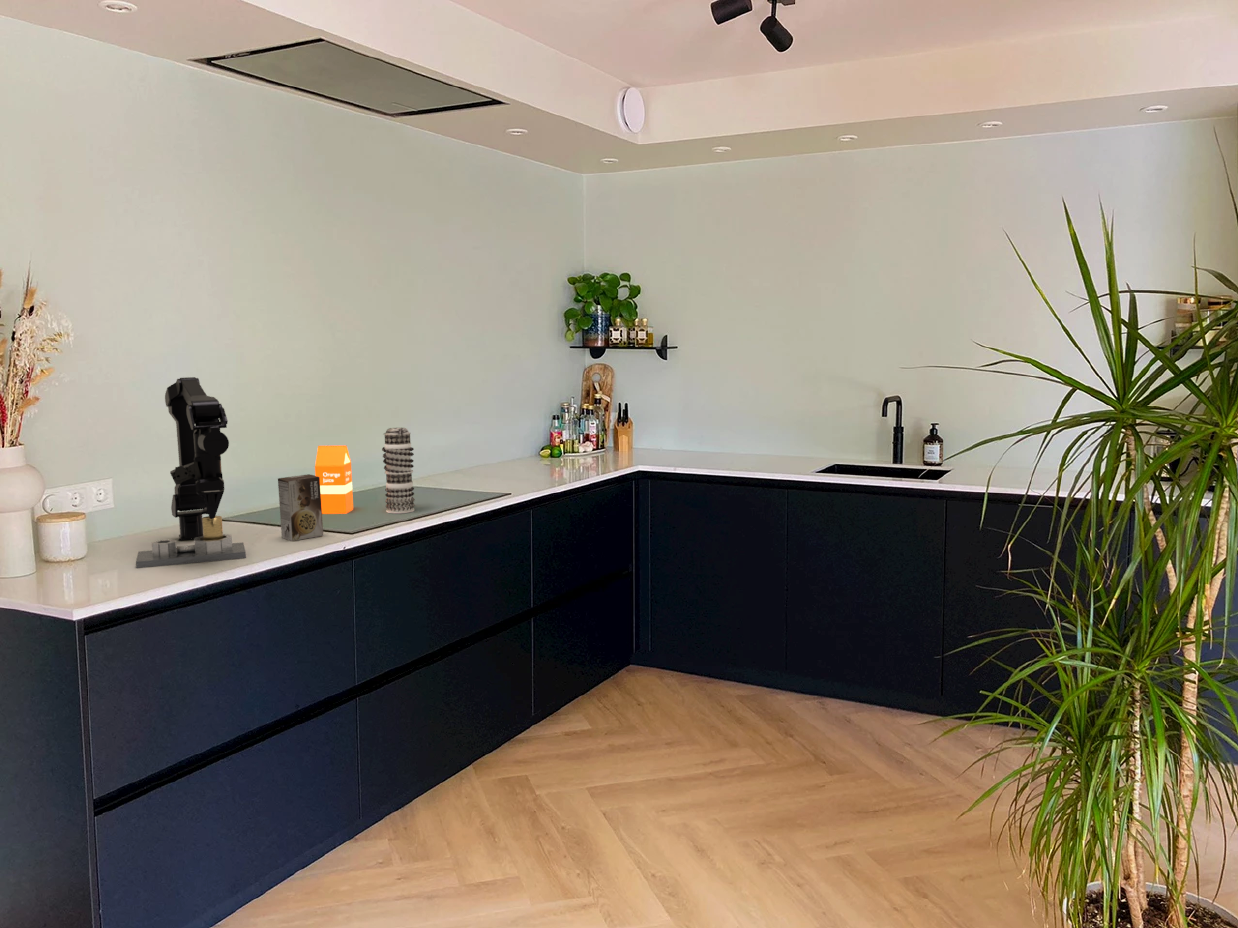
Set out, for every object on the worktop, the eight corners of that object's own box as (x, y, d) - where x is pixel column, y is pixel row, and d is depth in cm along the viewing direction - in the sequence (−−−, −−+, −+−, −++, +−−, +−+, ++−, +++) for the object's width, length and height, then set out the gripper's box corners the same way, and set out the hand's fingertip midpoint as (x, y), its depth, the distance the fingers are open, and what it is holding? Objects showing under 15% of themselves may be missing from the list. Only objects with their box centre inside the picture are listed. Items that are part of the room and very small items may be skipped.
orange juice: (346, 513, 303) (343, 447, 300) (316, 514, 303) (313, 447, 301) (353, 509, 311) (350, 444, 308) (325, 509, 311) (321, 444, 308)
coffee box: (312, 532, 276) (309, 473, 273) (324, 536, 271) (320, 476, 269) (280, 537, 269) (276, 477, 267) (291, 541, 265) (288, 480, 262)
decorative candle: (404, 514, 301) (401, 430, 297) (378, 512, 304) (374, 429, 301) (422, 509, 309) (419, 427, 306) (396, 507, 313) (393, 426, 309)
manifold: (138, 557, 248) (137, 539, 247) (243, 548, 257) (242, 530, 256) (136, 567, 237) (135, 549, 236) (245, 557, 246) (244, 539, 246)
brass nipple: (204, 548, 250) (202, 516, 249) (223, 546, 252) (221, 515, 251) (204, 552, 246) (202, 519, 245) (224, 550, 248) (222, 518, 247)
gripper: (171, 449, 251) (176, 512, 253) (170, 458, 234) (175, 524, 236) (220, 447, 255) (224, 508, 257) (222, 455, 238) (226, 520, 240)
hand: (211, 515), depth 247 cm, fingers open, 9 cm apart
